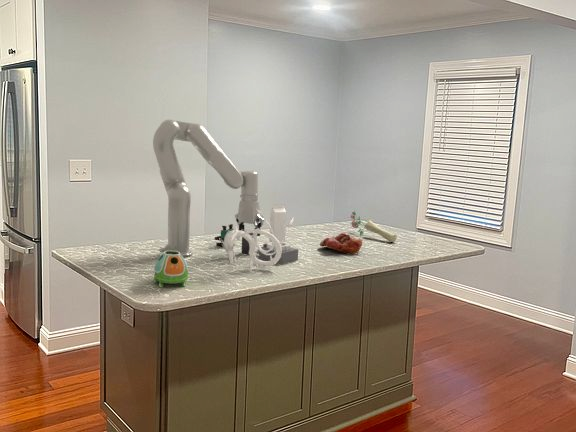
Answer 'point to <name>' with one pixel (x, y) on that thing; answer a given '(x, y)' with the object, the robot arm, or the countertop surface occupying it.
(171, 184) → the robot arm
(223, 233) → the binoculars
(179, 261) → the turtle holder
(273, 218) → the milk
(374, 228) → the flower vase
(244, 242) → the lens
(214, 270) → the countertop surface
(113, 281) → the countertop surface
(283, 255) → the low charcoal box
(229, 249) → the serpentine dragon sculpture
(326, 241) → the meat
